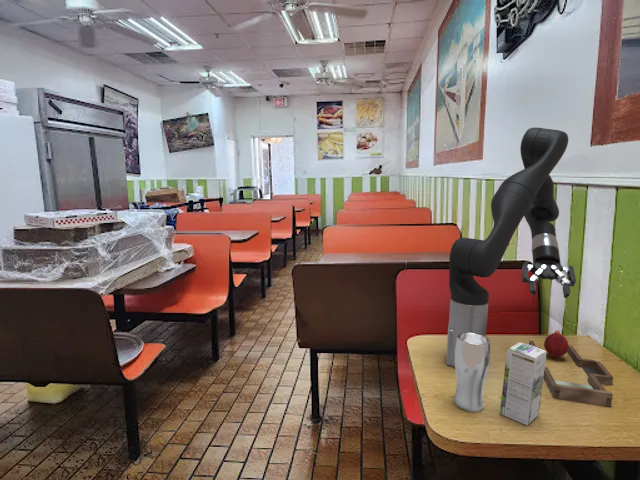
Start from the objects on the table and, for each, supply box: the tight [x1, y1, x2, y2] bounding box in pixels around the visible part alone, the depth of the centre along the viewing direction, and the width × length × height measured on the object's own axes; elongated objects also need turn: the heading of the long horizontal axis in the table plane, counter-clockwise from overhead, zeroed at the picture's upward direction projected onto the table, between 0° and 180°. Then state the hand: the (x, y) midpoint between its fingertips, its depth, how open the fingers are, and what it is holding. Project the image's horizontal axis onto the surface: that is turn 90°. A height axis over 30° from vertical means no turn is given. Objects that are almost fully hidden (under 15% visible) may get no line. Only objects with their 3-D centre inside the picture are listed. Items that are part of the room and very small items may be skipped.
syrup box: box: [499, 342, 548, 427], centre depth 83 cm, size 6×6×14 cm
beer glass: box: [453, 333, 491, 413], centre depth 87 cm, size 7×7×15 cm
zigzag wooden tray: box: [528, 340, 614, 408], centre depth 103 cm, size 19×30×3 cm, turn 163°
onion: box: [543, 329, 569, 359], centre depth 112 cm, size 6×6×8 cm
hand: (550, 295), depth 121 cm, fingers open, 8 cm apart
